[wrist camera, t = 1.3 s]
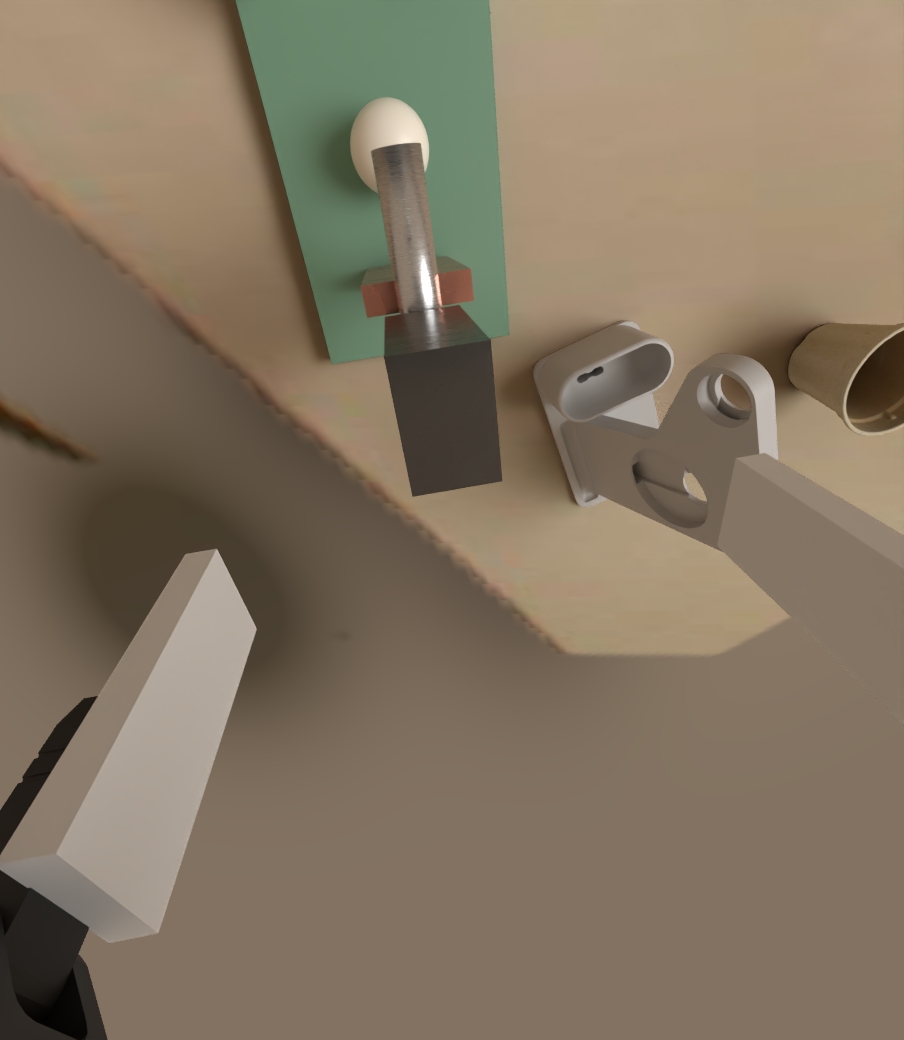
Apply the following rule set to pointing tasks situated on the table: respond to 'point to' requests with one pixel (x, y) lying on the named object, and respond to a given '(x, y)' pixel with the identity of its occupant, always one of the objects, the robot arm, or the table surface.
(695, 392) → the phone holder
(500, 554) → the table surface
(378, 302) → the multicoloured piece
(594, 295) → the table surface
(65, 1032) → the robot arm
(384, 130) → the ball
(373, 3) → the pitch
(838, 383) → the flower pot
